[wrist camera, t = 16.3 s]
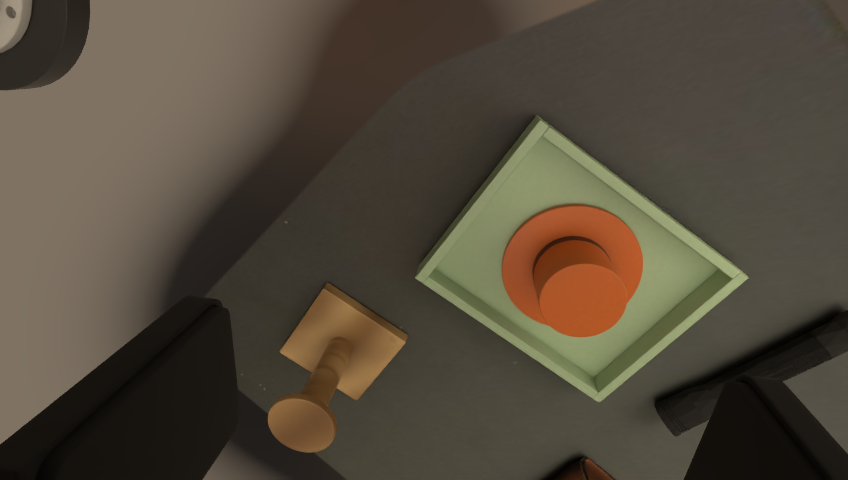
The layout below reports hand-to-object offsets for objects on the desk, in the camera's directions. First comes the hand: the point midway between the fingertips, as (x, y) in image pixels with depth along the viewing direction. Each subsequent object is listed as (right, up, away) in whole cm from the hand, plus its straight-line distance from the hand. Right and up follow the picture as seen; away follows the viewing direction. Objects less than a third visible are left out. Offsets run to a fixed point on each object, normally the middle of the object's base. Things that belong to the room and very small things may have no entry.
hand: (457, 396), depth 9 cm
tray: (+11, +1, +29) cm, 31 cm away
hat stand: (-8, -7, +35) cm, 36 cm away
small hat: (+11, +1, +28) cm, 30 cm away
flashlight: (+27, -8, +30) cm, 41 cm away
